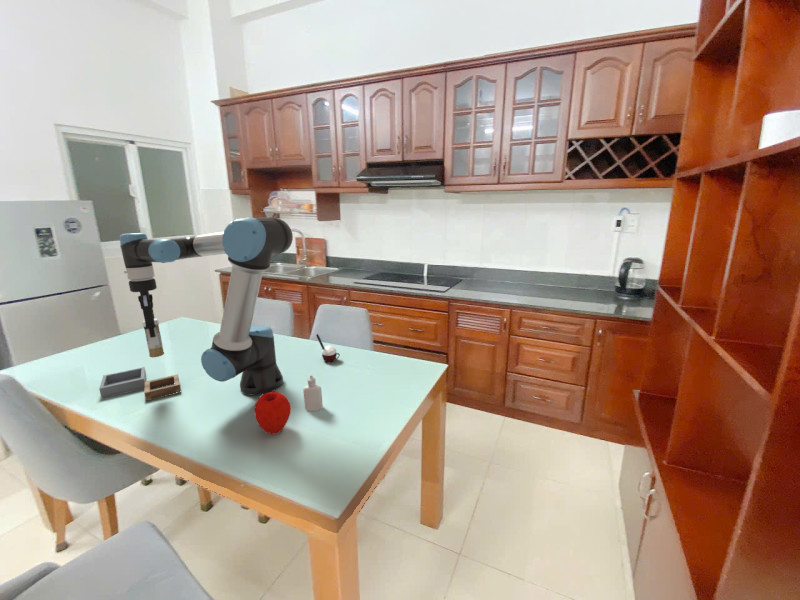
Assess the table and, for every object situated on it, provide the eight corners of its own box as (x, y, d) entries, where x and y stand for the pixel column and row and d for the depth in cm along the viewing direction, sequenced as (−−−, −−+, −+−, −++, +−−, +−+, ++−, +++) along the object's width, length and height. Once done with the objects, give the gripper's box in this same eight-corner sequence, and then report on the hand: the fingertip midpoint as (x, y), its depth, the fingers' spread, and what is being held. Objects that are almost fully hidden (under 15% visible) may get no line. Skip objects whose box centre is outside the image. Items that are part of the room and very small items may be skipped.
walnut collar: (181, 392, 130) (179, 384, 129) (145, 400, 124) (144, 393, 123) (179, 381, 138) (178, 374, 138) (146, 389, 132) (144, 381, 132)
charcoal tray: (145, 387, 133) (143, 378, 132) (101, 398, 126) (99, 388, 125) (146, 375, 144) (144, 366, 143) (105, 384, 137) (103, 375, 136)
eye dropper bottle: (312, 403, 120) (309, 370, 117) (324, 407, 117) (322, 374, 115) (303, 409, 117) (299, 375, 114) (315, 413, 114) (312, 379, 111)
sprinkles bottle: (146, 356, 127) (139, 321, 123) (159, 352, 131) (152, 317, 127) (154, 358, 125) (147, 322, 122) (167, 354, 129) (160, 318, 126)
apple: (296, 420, 110) (292, 384, 108) (287, 440, 101) (283, 401, 98) (263, 421, 110) (259, 386, 107) (252, 441, 101) (246, 402, 98)
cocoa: (341, 360, 156) (341, 334, 153) (332, 365, 151) (332, 338, 148) (324, 356, 160) (323, 330, 157) (315, 360, 155) (314, 334, 152)
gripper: (129, 277, 126) (142, 339, 132) (126, 284, 112) (141, 353, 117) (154, 274, 130) (166, 334, 136) (154, 281, 116) (168, 348, 122)
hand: (154, 343), depth 127 cm, fingers closed on sprinkles bottle, 4 cm apart
